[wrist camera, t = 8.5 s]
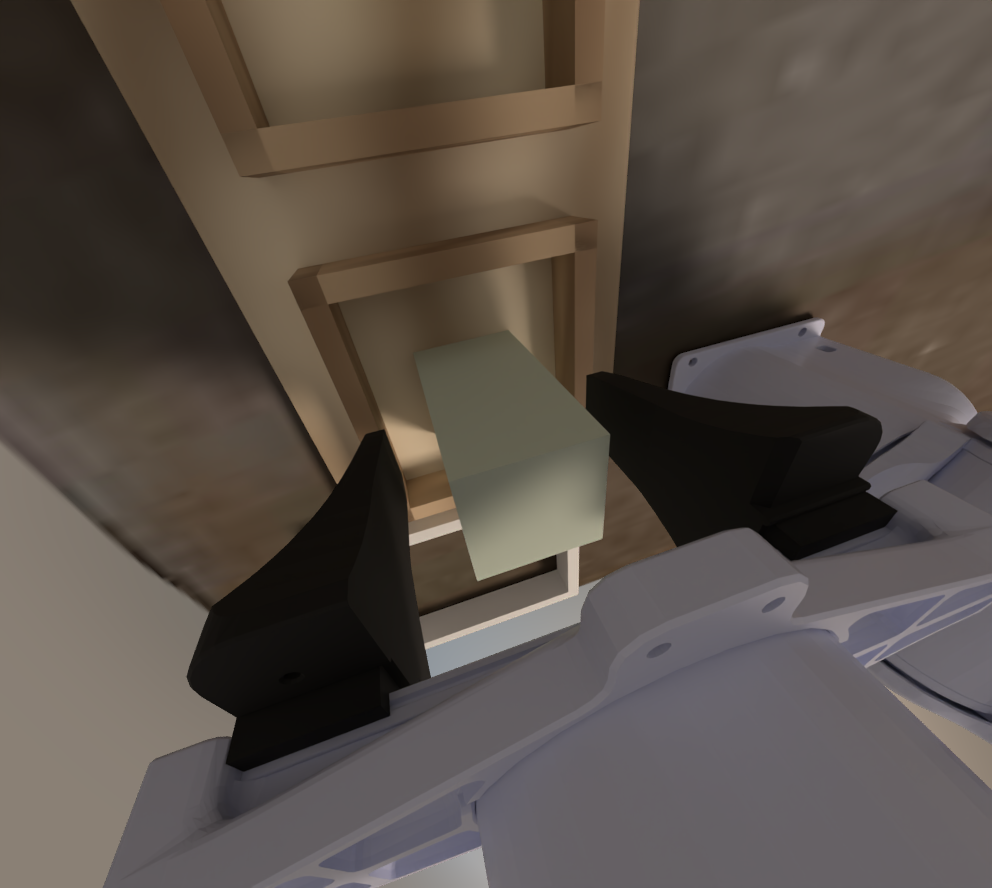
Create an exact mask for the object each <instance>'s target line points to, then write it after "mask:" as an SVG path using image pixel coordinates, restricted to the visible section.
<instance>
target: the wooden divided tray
mask: <svg viewBox="0 0 992 888" xmlns="http://www.w3.org/2000/svg"><path fill="white" fill-rule="evenodd" d="M70 1H71V2H72V4H73V6H74V8H75V10H76V12H77V13H78V15H79V17H80V19H81V21H82V22H83V24H84V26H85V28H86V30H87V31H88V33H89V35H90V37H91V39H92V41H93V42H94V44H95V46H96V48H97V50H98V51H99V53H100V55H101V57H102V59H103V61H104V62H105V64H106V66H107V68H108V70H109V71H110V73H111V75H112V77H113V79H114V80H115V82H116V84H117V86H118V88H119V90H120V91H121V93H122V95H123V97H124V99H125V100H126V102H127V104H128V106H129V108H130V109H131V111H132V113H133V115H134V117H135V119H136V120H137V122H138V124H139V126H140V128H141V129H142V131H143V133H144V135H145V137H146V139H147V140H148V142H149V144H150V146H151V148H152V149H153V151H154V153H155V155H156V157H157V158H158V160H159V162H160V164H161V166H162V168H163V169H164V171H165V173H166V175H167V177H168V178H169V180H170V182H171V184H172V186H173V188H174V189H175V191H176V193H177V195H178V197H179V198H180V200H181V202H182V204H183V206H184V207H185V209H186V211H187V213H188V215H189V217H190V218H191V220H192V222H193V224H194V226H195V227H196V229H197V231H198V233H199V235H200V236H201V238H202V240H203V242H204V244H205V246H206V247H207V249H208V251H209V253H210V255H211V256H212V258H213V260H214V262H215V264H216V266H217V267H218V269H219V271H220V273H221V275H222V276H223V278H224V280H225V282H226V284H227V285H228V287H229V289H230V291H231V293H232V295H233V296H234V298H235V300H236V302H237V304H238V305H239V307H240V309H241V311H242V313H243V315H244V316H245V318H246V320H247V322H248V324H249V325H250V327H251V329H252V331H253V333H254V334H255V336H256V338H257V340H258V342H259V344H260V345H261V347H262V349H263V351H264V353H265V354H266V356H267V358H268V360H269V362H270V364H271V365H272V367H273V369H274V371H275V373H276V374H277V376H278V378H279V380H280V382H281V383H282V385H283V387H284V389H285V391H286V393H287V394H288V396H289V398H290V400H291V402H292V403H293V405H294V407H295V409H296V411H297V412H298V414H299V416H300V418H301V420H302V422H303V423H304V425H305V427H306V429H307V431H308V432H309V434H310V436H311V438H312V440H313V442H314V443H315V445H316V447H317V449H318V451H319V452H320V454H321V456H322V458H323V460H324V461H325V463H326V465H327V467H328V469H329V471H330V472H331V474H332V476H333V478H334V480H335V481H336V483H337V484H338V483H339V481H340V480H341V478H342V476H343V475H344V473H345V471H346V469H347V468H348V466H349V464H350V462H351V460H352V459H353V457H354V455H355V453H356V451H357V449H358V447H359V445H360V443H361V441H362V439H363V438H364V436H365V434H367V433H371V432H375V431H379V430H382V429H385V432H386V435H387V437H388V440H389V442H390V445H391V447H392V450H393V452H394V455H395V458H396V460H397V463H398V465H399V468H400V470H401V473H402V476H403V481H404V486H405V491H406V497H407V507H408V522H412V521H415V520H418V519H421V518H425V517H428V516H431V515H434V514H438V513H441V512H444V511H447V510H451V509H454V508H456V506H455V502H454V499H453V496H452V492H451V489H450V485H449V482H448V478H447V474H446V471H445V467H444V464H443V460H442V456H441V453H440V449H439V446H438V442H437V438H436V435H435V431H434V427H433V424H432V420H431V417H430V413H429V409H428V406H427V402H426V398H425V395H424V391H423V388H422V384H421V380H420V377H419V373H418V369H417V366H416V362H415V359H414V355H413V353H414V352H418V351H422V350H426V349H431V348H435V347H439V346H443V345H447V344H452V343H456V342H460V341H464V340H468V339H473V338H477V337H481V336H485V335H490V334H494V333H498V332H502V331H506V330H509V331H510V332H511V333H512V334H513V335H514V336H515V337H516V338H517V339H518V340H519V341H520V342H521V343H522V344H523V345H524V346H525V347H526V348H527V349H528V350H529V352H530V353H531V354H532V355H533V356H534V357H535V358H536V359H537V360H538V361H539V362H540V363H541V364H542V365H543V366H544V367H545V368H546V369H547V370H548V371H549V372H550V373H551V374H552V375H553V376H554V377H555V378H556V379H557V380H558V381H559V382H560V383H561V384H562V385H563V386H564V387H565V388H566V389H567V390H568V391H569V393H570V394H571V395H572V396H573V397H574V398H575V399H576V400H577V401H578V402H579V403H580V404H581V405H582V406H583V407H584V408H585V409H586V375H589V374H593V373H597V372H601V371H604V372H609V373H613V366H614V352H615V338H616V324H617V310H618V296H619V282H620V268H621V254H622V240H623V226H624V212H625V198H626V184H627V170H628V156H629V142H630V128H631V114H632V100H633V86H634V72H635V58H636V44H637V30H638V16H639V2H640V0H70Z"/></svg>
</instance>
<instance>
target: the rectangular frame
mask: <svg viewBox="0 0 992 888" xmlns="http://www.w3.org/2000/svg"><path fill="white" fill-rule="evenodd" d="M408 526H409V546H410V545H414V544H417V543H420V542H423V541H426V540H429V539H433V538H436V537H439V536H442V535H445V534H448V533H452V532H455V531H458V530H461V529H462V527H461V523H460V520H459V516H458V513H457V509H456V508H454V509H451V510H447V511H444V512H441V513H438V514H434V515H431V516H428V517H425V518H421V519H418V520H415V521H412V522H408ZM556 558H557V570H554V571H551V572H548V573H545V574H542V575H539V576H536V577H534V578H531V579H528V580H525V581H522V582H519V583H516V584H513V585H510V586H508V587H505V588H502V589H499V590H496V591H493V592H490V593H487V594H484V595H482V596H479V597H476V598H473V599H470V600H467V601H464V602H461V603H458V604H456V605H453V606H450V607H447V608H444V609H441V610H438V611H435V612H432V613H430V614H427V615H424V616H421V617H419V618H420V624H421V629H422V634H423V640H424V645H425V649H428V648H431V647H433V646H436V645H439V644H442V643H445V642H448V641H450V640H453V639H456V638H458V637H461V636H464V635H467V634H470V633H472V632H475V631H478V630H481V629H484V628H486V627H489V626H492V625H495V624H497V623H500V622H503V621H506V620H509V619H511V618H514V617H517V616H520V615H522V614H525V613H528V612H531V611H534V610H536V609H539V608H542V607H545V606H547V605H550V604H553V603H556V602H559V601H561V600H564V599H567V598H570V597H572V596H575V595H578V587H579V547H576V548H573V549H570V550H568V551H565V552H562V553H559V554H556Z"/></svg>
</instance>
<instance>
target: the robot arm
mask: <svg viewBox="0 0 992 888" xmlns="http://www.w3.org/2000/svg"><path fill="white" fill-rule="evenodd" d="M824 324H825V322H824V320H823V319H821V318H812V319H808V320H804V321H800V322H797V323H793V324H789V325H785V326H782V327H778V328H774V329H771V330H767V331H763V332H759V333H756V334H752V335H748V336H744V337H741V338H737V339H733V340H729V341H726V342H722V343H718V344H714V345H711V346H707V347H703V348H699V349H696V350H692V351H688V352H684V353H681V354H679V355H678V356H677V357H676V358H675V359H674V361H673V363H672V368H671V374H670V379H669V385H668V389H665V388H661V387H657V386H654V385H651V384H647V383H644V382H641V381H637V380H634V379H631V378H627V377H624V376H621V375H617V374H613V373H609V372H604V371H601V372H597V373H593V374H589V375H586V410H587V411H588V412H589V413H590V414H591V415H592V416H593V417H594V418H595V419H596V420H597V421H598V422H599V423H600V424H601V425H602V426H603V427H604V428H605V429H606V430H607V431H608V433H609V434H610V444H609V456H610V457H611V459H612V460H613V461H614V462H615V463H616V464H617V465H618V466H619V468H620V469H621V470H622V471H623V472H624V473H625V474H626V475H627V477H628V478H629V479H630V480H631V481H632V482H633V483H634V484H635V486H636V487H637V488H638V489H639V491H640V492H641V493H642V495H643V496H644V497H645V499H646V500H647V502H648V503H649V505H650V506H651V507H652V509H653V510H654V512H655V513H656V515H657V516H658V518H659V519H660V521H661V522H662V524H663V525H664V527H665V528H666V530H667V532H668V533H669V535H670V536H671V538H672V539H673V541H674V543H675V544H676V546H677V548H674V549H671V550H668V551H665V552H662V553H660V554H657V555H654V556H651V557H648V558H646V559H643V560H640V561H637V562H634V563H632V564H629V565H626V566H624V567H622V568H620V569H618V570H616V571H614V572H613V573H611V574H609V575H607V576H605V577H604V578H603V579H602V580H601V581H600V582H599V583H597V584H596V585H595V586H594V587H593V588H592V589H591V590H590V591H589V592H588V595H587V597H586V599H585V602H584V604H583V607H582V609H581V622H580V623H577V624H574V625H571V626H569V627H566V628H563V629H561V630H558V631H555V632H553V633H550V634H547V635H545V636H542V637H539V638H537V639H534V640H531V641H529V642H526V643H523V644H520V645H518V646H515V647H512V648H510V649H507V650H504V651H502V652H499V653H496V654H494V655H491V656H488V657H486V658H483V659H480V660H478V661H475V662H472V663H470V664H467V665H464V666H462V667H459V668H456V669H454V670H451V671H448V672H445V673H443V674H440V675H437V676H435V677H432V678H431V676H430V671H429V666H428V661H427V656H426V650H425V645H424V640H423V634H422V629H421V624H420V618H419V612H418V606H417V601H416V595H415V589H414V583H413V576H412V570H411V561H410V546H409V526H408V507H407V497H406V491H405V486H404V481H403V476H402V473H401V470H400V468H399V465H398V463H397V460H396V458H395V455H394V452H393V450H392V447H391V445H390V442H389V440H388V437H387V435H386V432H385V429H382V430H379V431H375V432H371V433H367V434H365V436H364V438H363V439H362V441H361V443H360V445H359V447H358V449H357V451H356V453H355V455H354V457H353V459H352V460H351V462H350V464H349V466H348V468H347V469H346V471H345V473H344V475H343V476H342V478H341V480H340V481H339V483H338V484H337V486H336V487H335V489H334V490H333V492H332V493H331V495H330V496H329V498H328V499H327V500H326V502H325V503H324V504H323V505H322V507H321V508H320V509H319V510H318V512H317V513H316V514H315V515H314V517H313V518H312V519H311V520H310V521H309V522H308V523H307V524H306V525H305V526H304V527H303V529H302V530H301V531H300V532H299V533H298V534H297V535H296V536H295V537H294V538H293V539H292V540H291V541H290V542H289V543H288V544H287V545H286V546H285V547H284V548H283V549H282V550H281V551H280V552H279V553H278V554H277V555H275V556H274V557H273V558H272V559H271V560H270V561H269V562H268V563H266V564H265V565H264V566H263V567H262V568H261V569H260V570H258V571H257V572H256V573H255V574H254V575H252V576H251V577H250V578H249V579H247V580H246V581H245V582H243V583H242V584H241V585H240V586H238V587H237V588H236V589H234V590H233V591H232V592H231V593H229V594H228V595H227V596H225V597H224V598H223V599H221V600H220V601H219V602H217V603H216V604H215V605H213V606H212V608H211V610H210V612H209V615H208V618H207V620H206V622H205V625H204V627H203V630H202V633H201V636H200V638H199V641H198V644H197V647H196V650H195V652H194V655H193V658H192V661H191V664H190V666H189V670H188V674H187V679H188V682H189V685H190V687H191V688H192V689H193V690H194V691H196V692H197V693H198V694H199V695H200V696H201V697H203V698H205V699H206V700H208V701H210V702H211V703H213V704H215V705H216V706H218V707H220V708H221V709H223V710H225V711H227V712H228V713H230V714H232V715H233V716H235V717H237V719H236V723H235V727H234V731H233V735H232V737H228V736H226V737H216V738H212V739H208V740H205V741H202V742H200V743H197V744H194V745H192V746H189V747H186V748H183V749H180V750H178V751H175V752H172V753H170V754H167V755H164V756H162V757H159V758H156V759H155V760H153V761H152V762H151V763H150V764H149V766H148V769H147V771H146V774H145V777H144V779H143V782H142V785H141V787H140V790H139V793H138V795H137V798H136V801H135V803H134V806H133V809H132V811H131V814H130V817H129V819H128V822H127V825H126V827H125V830H124V833H123V836H122V838H121V841H120V843H119V846H118V849H117V851H116V854H115V857H114V859H113V862H112V865H111V867H110V870H109V873H108V875H107V878H106V881H105V883H104V886H103V888H377V887H380V886H383V885H385V884H388V883H390V882H393V881H396V880H398V879H400V878H403V877H406V876H409V875H411V874H414V873H416V872H419V871H421V870H424V869H427V868H429V867H432V866H434V865H437V864H440V863H442V862H445V861H447V860H450V859H453V858H455V857H458V856H460V855H463V854H466V853H468V852H471V851H473V850H476V849H479V848H481V847H482V850H483V856H484V862H485V867H486V873H487V879H488V885H489V888H992V790H991V789H990V788H989V787H988V786H987V785H986V784H985V783H984V782H983V781H982V780H981V779H980V778H979V777H978V776H977V775H976V774H974V772H972V770H971V769H970V768H968V767H967V766H966V765H965V764H964V763H963V762H962V761H961V760H960V759H959V758H958V757H957V756H956V755H955V754H954V753H953V752H952V751H951V750H950V749H949V748H948V747H947V746H946V745H945V744H944V743H943V742H942V741H941V740H940V739H938V738H937V737H936V736H935V735H934V734H933V733H932V732H931V731H930V730H929V729H928V728H927V727H926V726H925V725H924V724H923V723H922V722H921V721H920V720H919V719H918V718H917V717H916V716H915V715H914V714H913V713H912V712H911V711H909V709H907V707H905V706H904V705H903V704H902V703H901V702H900V701H899V700H898V699H897V698H896V697H895V696H894V695H893V694H892V693H891V692H890V691H889V690H888V689H887V688H889V689H890V690H892V691H893V692H895V693H897V694H898V695H900V696H902V697H903V698H905V699H907V700H909V701H911V702H912V703H914V704H916V705H918V706H920V707H922V708H925V709H927V710H929V711H931V712H933V713H935V714H937V715H939V716H941V717H944V718H946V719H948V720H950V721H952V722H954V723H956V724H958V725H959V726H961V727H963V728H965V729H967V730H968V731H970V732H972V733H973V734H975V735H977V736H978V737H980V738H982V739H983V740H985V741H987V742H988V743H990V744H991V745H992V412H991V411H983V412H979V413H978V414H977V412H976V410H975V408H974V406H973V405H972V403H971V402H970V401H969V400H968V398H967V397H966V396H965V395H964V394H963V393H962V392H961V391H960V390H958V389H957V388H956V387H955V386H953V385H952V384H951V383H949V382H947V381H946V380H944V379H942V378H940V377H938V376H935V375H933V374H930V373H927V372H924V371H921V370H918V369H915V368H912V367H909V366H906V365H903V364H900V363H897V362H894V361H891V360H888V359H885V358H882V357H879V356H876V355H873V354H871V353H868V352H865V351H862V350H859V349H856V348H853V347H850V346H847V345H844V344H841V343H838V342H835V341H832V340H829V339H826V338H823V337H820V334H821V332H822V330H823V327H824ZM691 359H692V360H691ZM690 360H691V361H690ZM689 362H690V363H689ZM885 686H886V687H887V688H886V687H885Z"/></svg>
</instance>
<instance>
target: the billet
mask: <svg viewBox="0 0 992 888" xmlns="http://www.w3.org/2000/svg"><path fill="white" fill-rule="evenodd" d="M413 355H414V359H415V362H416V366H417V369H418V373H419V377H420V380H421V384H422V388H423V391H424V395H425V398H426V402H427V406H428V409H429V413H430V417H431V420H432V424H433V427H434V431H435V435H436V438H437V442H438V446H439V449H440V453H441V456H442V460H443V464H444V467H445V471H446V474H447V478H448V482H449V485H450V489H451V492H452V496H453V499H454V502H455V506H456V509H457V513H458V516H459V520H460V523H461V527H462V530H463V533H464V537H465V540H466V544H467V547H468V551H469V554H470V558H471V561H472V564H473V568H474V571H475V575H476V578H477V581H479V580H482V579H485V578H488V577H491V576H494V575H497V574H500V573H503V572H506V571H509V570H512V569H515V568H517V567H520V566H523V565H526V564H529V563H532V562H535V561H538V560H541V559H544V558H547V557H550V556H553V555H556V554H559V553H562V552H565V551H568V550H570V549H573V548H576V547H579V546H582V545H585V544H588V543H591V542H594V541H597V540H600V539H602V537H603V524H604V511H605V497H606V484H607V471H608V457H609V444H610V434H609V433H608V431H607V430H606V429H605V428H604V427H603V426H602V425H601V424H600V423H599V422H598V421H597V420H596V419H595V418H594V417H593V416H592V415H591V414H590V413H589V412H588V411H587V410H586V409H585V408H584V407H583V406H582V405H581V404H580V403H579V402H578V401H577V400H576V399H575V398H574V397H573V396H572V395H571V394H570V393H569V391H568V390H567V389H566V388H565V387H564V386H563V385H562V384H561V383H560V382H559V381H558V380H557V379H556V378H555V377H554V376H553V375H552V374H551V373H550V372H549V371H548V370H547V369H546V368H545V367H544V366H543V365H542V364H541V363H540V362H539V361H538V360H537V359H536V358H535V357H534V356H533V355H532V354H531V353H530V352H529V350H528V349H527V348H526V347H525V346H524V345H523V344H522V343H521V342H520V341H519V340H518V339H517V338H516V337H515V336H514V335H513V334H512V333H511V332H510V331H509V330H506V331H502V332H498V333H494V334H490V335H485V336H481V337H477V338H473V339H468V340H464V341H460V342H456V343H452V344H447V345H443V346H439V347H435V348H431V349H426V350H422V351H418V352H414V353H413Z"/></svg>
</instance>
